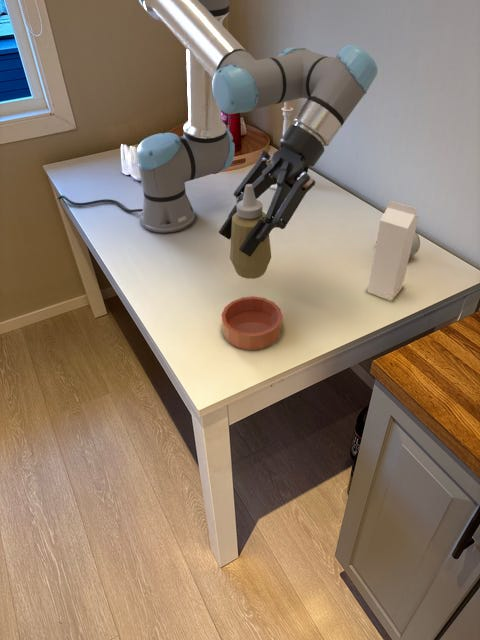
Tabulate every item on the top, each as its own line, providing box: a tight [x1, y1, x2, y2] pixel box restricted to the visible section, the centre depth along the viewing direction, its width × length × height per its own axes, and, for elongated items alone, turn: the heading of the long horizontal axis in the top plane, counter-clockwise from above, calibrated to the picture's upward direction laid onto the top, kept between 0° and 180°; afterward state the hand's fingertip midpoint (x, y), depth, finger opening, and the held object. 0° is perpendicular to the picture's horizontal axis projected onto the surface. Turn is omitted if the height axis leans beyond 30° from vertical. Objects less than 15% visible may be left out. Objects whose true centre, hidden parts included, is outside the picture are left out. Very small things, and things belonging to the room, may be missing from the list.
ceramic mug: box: [375, 230, 421, 258], centre depth 122 cm, size 11×8×8 cm
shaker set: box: [120, 143, 142, 182], centre depth 160 cm, size 12×4×11 cm, turn 39°
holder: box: [220, 295, 284, 351], centre depth 103 cm, size 13×13×4 cm
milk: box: [367, 200, 420, 302], centre depth 106 cm, size 6×6×22 cm
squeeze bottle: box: [229, 184, 272, 280], centre depth 90 cm, size 8×8×18 cm
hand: (234, 244), depth 89 cm, fingers closed on squeeze bottle, 6 cm apart
